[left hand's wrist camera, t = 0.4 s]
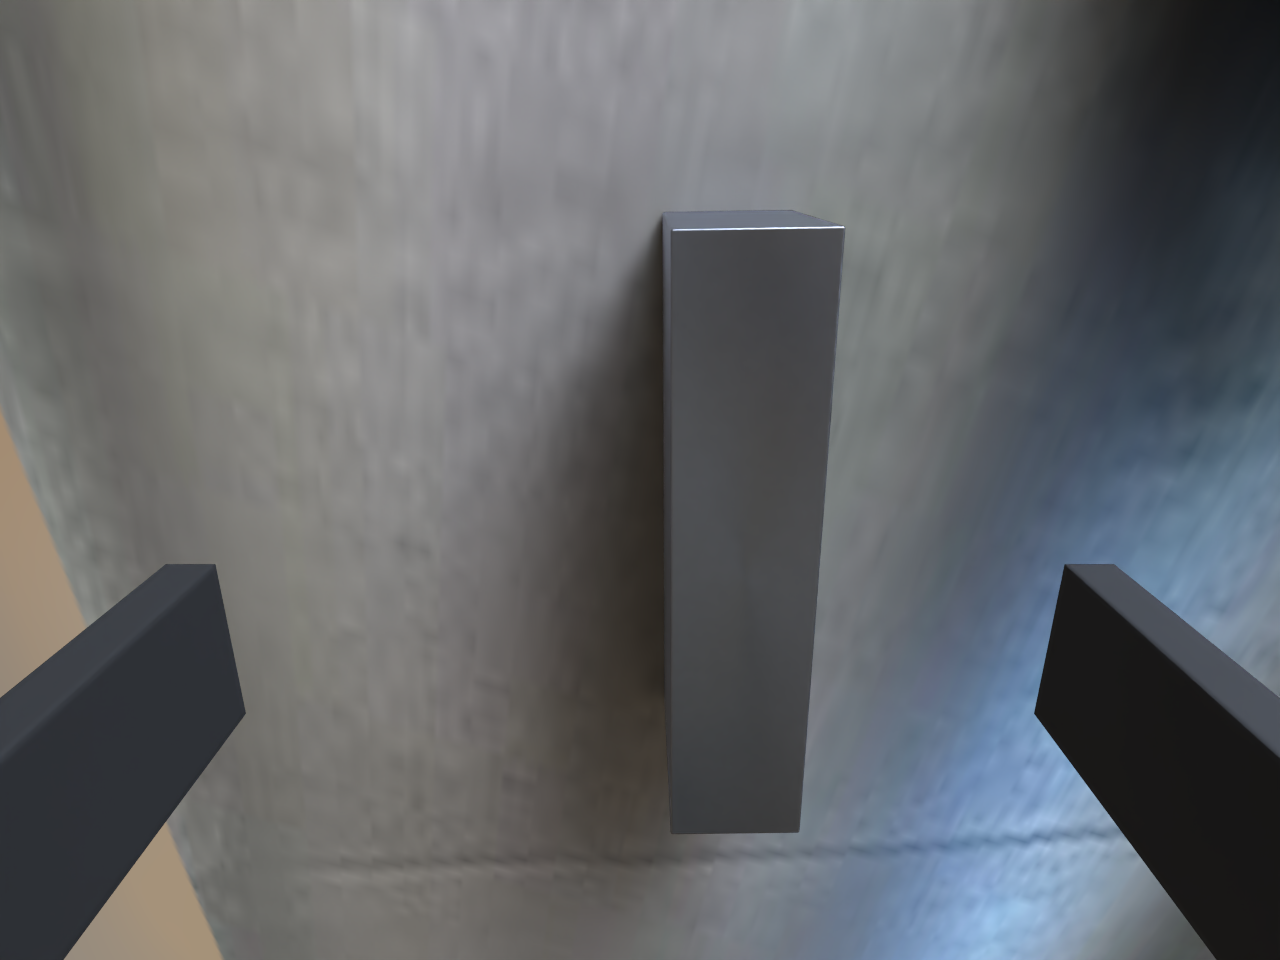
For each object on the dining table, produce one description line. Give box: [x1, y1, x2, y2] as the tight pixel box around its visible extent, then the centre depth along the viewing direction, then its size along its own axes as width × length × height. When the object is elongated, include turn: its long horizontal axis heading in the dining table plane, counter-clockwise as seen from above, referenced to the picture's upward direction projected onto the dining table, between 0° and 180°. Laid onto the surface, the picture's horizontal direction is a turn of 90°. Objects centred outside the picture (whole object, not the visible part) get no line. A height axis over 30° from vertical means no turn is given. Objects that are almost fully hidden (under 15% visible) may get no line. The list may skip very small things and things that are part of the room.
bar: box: [663, 210, 845, 834], centre depth 31 cm, size 23×5×8 cm, turn 1°
